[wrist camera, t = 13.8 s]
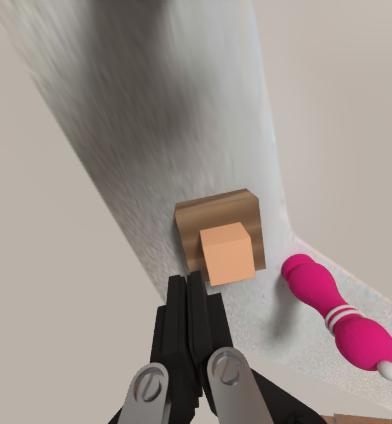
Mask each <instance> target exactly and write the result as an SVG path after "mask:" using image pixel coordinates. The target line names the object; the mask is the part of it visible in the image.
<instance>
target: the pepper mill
mask: <svg viewBox="0 0 392 424" xmlns="http://www.w3.org/2000/svg"><path fill="white" fill-rule="evenodd" d="M282 274H283V276H284V277H285V279H286V280H287V281H288V283H289V288H290V290H291V292H292V293H293V294H294V295H295V296H296V297H297V298H298V299H299V300H301V301H302V302H304V303H305V304H307V305H309V306H311V307H313V308H315V309H316V310H317V311H318V312H319V313H320V314H321V315H322V316H323V318H324V319H325V326H326V328H327V329H328V330H329V331H330V333H331V334H332V335H333V336H334V337H335V343H336V346H337V348H338V350H339V351H340V353H341V354H342V355H343V357H344V358H345V359H346V360H347V361H349V362H350V363H351V364H353V365H354V366H356V367H358V368H360V369H363V370H367V371H377V370H378V372H379V373H380V374H381V376H383V377H384V378H385V379H387V380H391V381H392V337H391V336H390V335H389V333H388V332H387V331H386V330H385V329H384V328H383V327H382V326H381V325H380V324H378V323H377V322H375V321H373V320H371V319H368V318H366V317H365V315H364V314H363V313H362V312H360V310H359V309H358V308H357V307H355V306H353V305H349V304H348V303H346V302H345V301H344V299H343V298H342V297H341V295H340V294H339V292H338V289H337V286H336V283H335V280H334V278H333V277H332V275H331V273H330V272H329V271H328V270H327V269H326V268H325V267H324V266H322V265H320V264H318V263H315V261H314V260H312V259H311V258H310V257H309V256H307V255H305V254H296V255H293V256H291V257H290V258H288V259H287V260H286V261H285V263H284V264H283V267H282Z"/></svg>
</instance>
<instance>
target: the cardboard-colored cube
mask: <svg viewBox="0 0 392 424" xmlns="http://www.w3.org/2000/svg"><path fill="white" fill-rule="evenodd" d="M200 234H201V240H202V246H203V251H204V256H205V260H206V264H207V269H208V273H209V278H210V282H211V286H216V285H221V284H225V283H230V282H235V281H240V280H245V279H249V278H254V277H256V276H255V268H254V260H253V253H252V245H251V237H250V236H249V234H248V233H247V232H246V230H245V229H244V227H243V226H242V224H241V223H240V222H238V223H233V224H229V225H224V226H219V227H215V228H210V229H205V230H200Z"/></svg>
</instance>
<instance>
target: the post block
mask: <svg viewBox="0 0 392 424" xmlns="http://www.w3.org/2000/svg"><path fill="white" fill-rule="evenodd" d="M175 218H176V222H177V226H178V230H179V234H180V237H181V241H182V245H183V249H184V253H185V256H186V260H187V264H188V268H189V272H192V271H197V270H201V272H202V276H203V280H204V282H205V281H209V280H210V278H209V273H208V269H207V264H206V260H205V256H204V251H203V246H202V240H201V234H200V230H205V229H210V228H215V227H219V226H224V225H229V224H233V223H238V222H240V223H241V224H242V226H243V227H244V229H245V230H246V232H247V233H248V234H249V236H250V237H251V245H252V253H253V260H254V268H255V271H257V270H262V269H266V265H265V256H264V247H263V237H262V228H261V219H260V210H259V200H258V198H257V197H256V196H255V195H254V194H252V193H251V192H250V191H249V190H247V189H242V190H237V191H233V192H228V193H223V194H219V195H214V196H209V197H205V198H200V199H196V200H191V201H186V202H182V203H177V204H176V211H175Z"/></svg>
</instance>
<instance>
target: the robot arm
mask: <svg viewBox="0 0 392 424" xmlns="http://www.w3.org/2000/svg"><path fill="white" fill-rule="evenodd" d="M202 387H203V390H204V392H205V395H206V398H207V400H208V403H209V406H210V409H211V411H212V412H213V413H214V414H215V415H216V416H217V417H218V419H219V423H220V424H392V419H382V418H372V417H361V416H351V415H342V414H334V417H333V416H323V415H319V414H318V413H316V412H315V411H314V410H312V409H311V408H309V407H308V406H306V405H305V404H303V403H302V402H300V401H299V400H297V399H296V398H294V397H293V396H291V395H290V394H288V393H287V392H286V391H284V390H283V389H281V388H280V387H278V386H277V385H275V384H274V383H272V382H271V381H269V380H268V379H266V378H265V377H263V376H262V375H260V374H259V373H257V372H256V371H254V370H253V369H251V368H250V367H249V365H248V362H247V360H246V358H245V357H244V355H243V354H242V353H241V352H240V351H239V350H237V349H235V348H234V347H233V343H232V339H231V334H230V330H229V326H228V321H227V317H226V313H225V309H224V304H223V300H222V296H221V293H217V294H213V295H208V294H207V291H206V287H205V283H204V280H203V276H202V272H201V270H197V271H192V272H190V275H188V276H187V283H186V280H185V277H184V276H183V277H181V276H180V275H175V276H170V277H169V281H168V292H167V302H166V305H164V306H160V307H158V309H157V315H156V322H155V329H154V336H153V343H152V350H151V357H150V364H147V365H145V366H144V367H142V368H141V369H140V370H139V371H138V372H137V373H136V375H135V376H134V377H133V379H132V382H131V384H130V387H129V390H128V393H127V396H126V399H125V402H124V405H123V406H122V408H121V409H120V410H119V411H118V412H117V413H116V415H115V416H114V417H113V418H112V419H111V421H110V422H109V423H108V424H190V422H191V420H192V419H193V417H194V416H195V408H198V407H199V398H198V397H202V396H203V390H202Z"/></svg>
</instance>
